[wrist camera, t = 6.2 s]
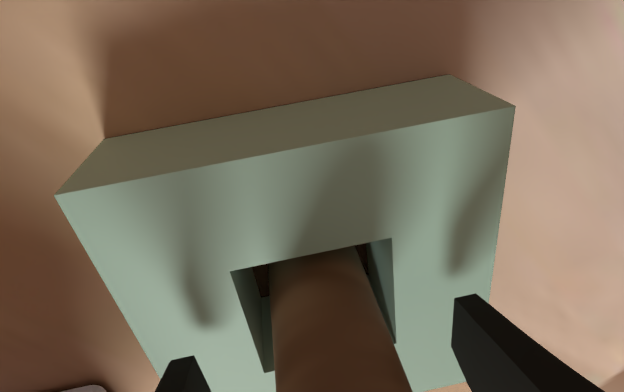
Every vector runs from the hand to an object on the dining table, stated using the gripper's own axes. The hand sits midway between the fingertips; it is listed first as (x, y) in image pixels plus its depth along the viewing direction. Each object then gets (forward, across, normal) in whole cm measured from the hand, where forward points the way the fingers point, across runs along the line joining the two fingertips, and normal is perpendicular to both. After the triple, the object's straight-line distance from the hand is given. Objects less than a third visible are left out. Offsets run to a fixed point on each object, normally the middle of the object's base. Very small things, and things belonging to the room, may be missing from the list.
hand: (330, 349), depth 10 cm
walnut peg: (+5, 0, 0) cm, 5 cm away
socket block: (+5, 0, 0) cm, 5 cm away
